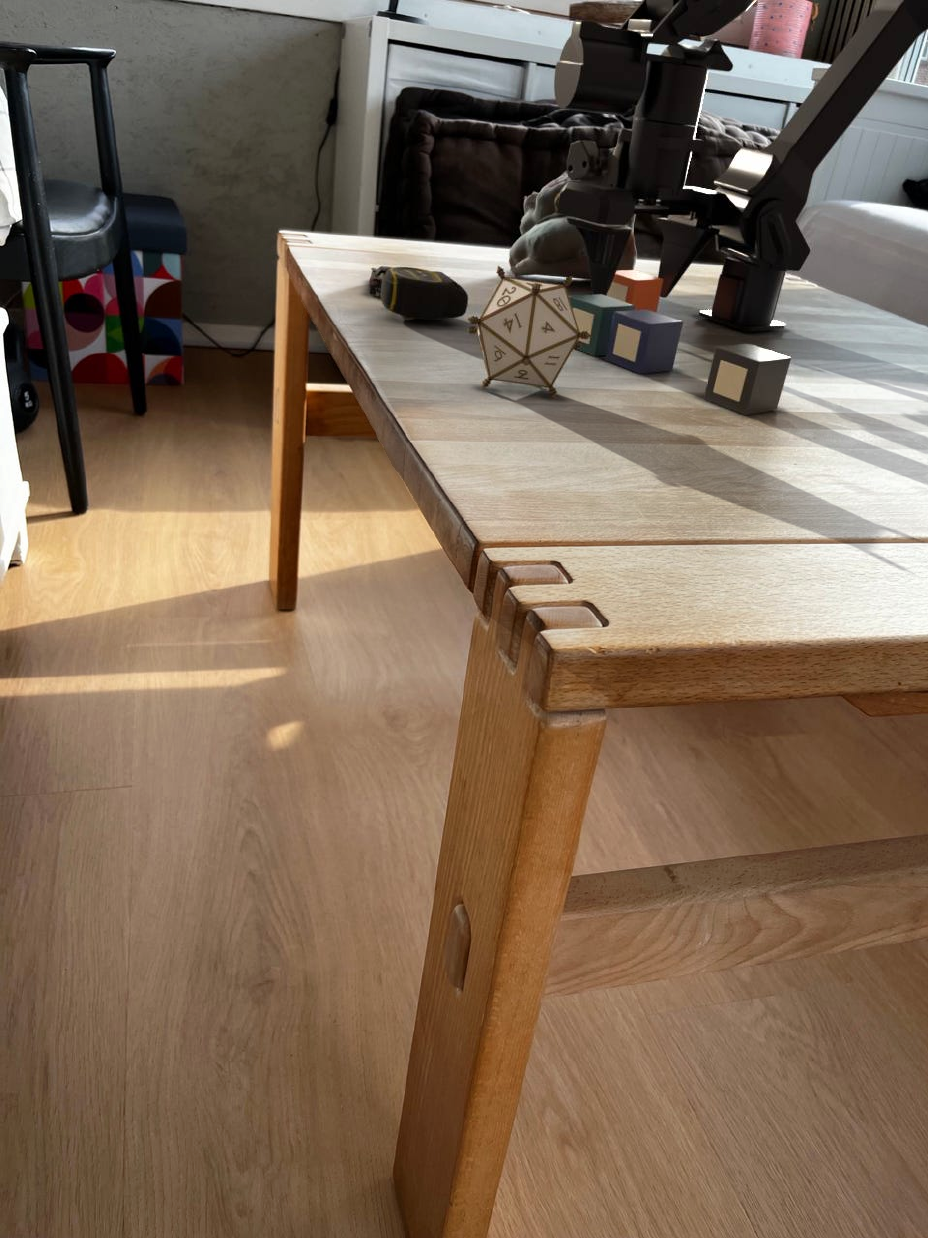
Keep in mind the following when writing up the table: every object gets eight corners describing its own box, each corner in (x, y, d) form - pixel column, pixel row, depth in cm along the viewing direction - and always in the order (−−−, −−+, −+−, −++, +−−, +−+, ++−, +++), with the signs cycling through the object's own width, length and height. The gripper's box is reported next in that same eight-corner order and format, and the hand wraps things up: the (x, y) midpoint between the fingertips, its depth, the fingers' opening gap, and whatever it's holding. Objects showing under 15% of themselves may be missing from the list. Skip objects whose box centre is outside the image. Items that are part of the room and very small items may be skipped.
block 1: (593, 340, 90) (601, 293, 88) (626, 352, 87) (635, 305, 86) (560, 343, 88) (568, 295, 86) (593, 356, 85) (602, 307, 83)
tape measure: (467, 329, 88) (472, 285, 86) (389, 325, 85) (394, 279, 84) (444, 310, 93) (449, 267, 91) (370, 305, 91) (374, 262, 89)
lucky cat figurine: (482, 272, 111) (496, 145, 111) (536, 308, 121) (549, 191, 121) (608, 258, 102) (623, 120, 102) (655, 297, 112) (669, 172, 113)
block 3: (734, 393, 80) (748, 342, 78) (777, 409, 77) (791, 357, 76) (702, 398, 78) (714, 346, 76) (744, 415, 75) (758, 361, 73)
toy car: (371, 280, 101) (373, 257, 100) (406, 284, 101) (408, 261, 100) (367, 297, 94) (368, 273, 93) (404, 301, 94) (406, 277, 93)
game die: (522, 446, 74) (542, 359, 65) (435, 377, 76) (443, 283, 67) (598, 374, 77) (628, 282, 68) (513, 310, 79) (531, 211, 70)
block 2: (636, 356, 87) (646, 308, 85) (672, 370, 84) (683, 321, 82) (603, 360, 84) (613, 311, 82) (639, 374, 82) (650, 324, 80)
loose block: (625, 310, 103) (633, 269, 101) (654, 320, 100) (663, 279, 98) (597, 312, 101) (604, 270, 99) (627, 323, 98) (635, 280, 96)
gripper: (664, 117, 103) (633, 277, 110) (529, 103, 92) (505, 282, 99) (754, 132, 96) (714, 302, 103) (620, 119, 85) (586, 310, 92)
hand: (630, 298), depth 100 cm, fingers open, 9 cm apart
